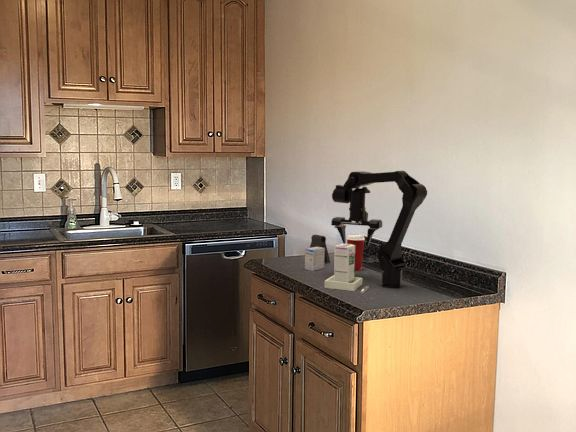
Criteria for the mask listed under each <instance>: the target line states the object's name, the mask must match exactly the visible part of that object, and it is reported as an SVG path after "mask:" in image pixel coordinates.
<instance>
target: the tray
mask: <svg viewBox="0 0 576 432" xmlns="http://www.w3.org/2000/svg"><path fill="white" fill-rule="evenodd" d="M361 286H363V277H357V276H355V282H354V283H346V282H337V281H334V274H333V275H331V276H330V277H328V278H327V279H325V280H324V287H323V288H324V289H333V290H341V291H350V292H351V291H352V292H355V291H356V290H357V289H359V288H360V287H361Z"/></svg>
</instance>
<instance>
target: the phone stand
mask: <svg viewBox="0 0 576 432" xmlns="http://www.w3.org/2000/svg"><path fill="white" fill-rule="evenodd" d="M310 240H311V242H310V245H309V248H312V247H322V248H325V259H324V265H326V264H330V263H331V260H330V255H329V252H328V251H329V250H328V247H327V242H326V241H327V237H326V236H324V235H319V234H312V235H311V239H310Z"/></svg>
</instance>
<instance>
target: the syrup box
mask: <svg viewBox="0 0 576 432" xmlns="http://www.w3.org/2000/svg"><path fill="white" fill-rule="evenodd" d="M333 265H334V267H333V268H334V269H333V270H334V271H333V275H334V281H337V282H346V283H354V282H355V277H356V276H355V273H356V271H355V245H353V244H347V243H345V244H343V243H341V244H337V245H334V263H333Z"/></svg>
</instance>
